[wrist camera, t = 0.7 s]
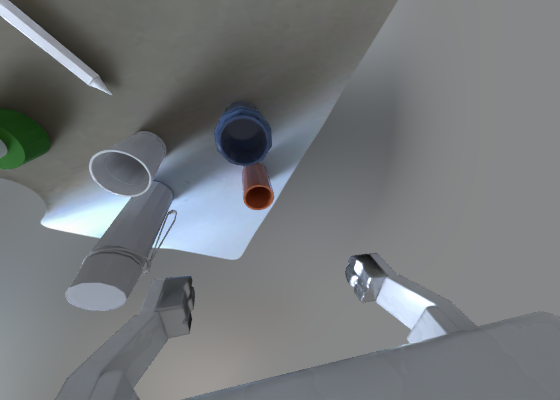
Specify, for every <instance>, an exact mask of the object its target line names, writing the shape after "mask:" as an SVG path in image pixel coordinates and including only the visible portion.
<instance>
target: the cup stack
mask: <svg viewBox="0 0 560 400" xmlns="http://www.w3.org/2000/svg"><path fill="white" fill-rule="evenodd" d="M238 106H243V107H247V108H251V109H254V110H257V109H256V108H255V107H254V106H253V105H251V104H249V103H247V102H235V103H232V104H231V105H229V106H228V107H227V108H226V110H225V111H224V112H226V111H228V110H231V109H233V108H235V107H238ZM257 111H258V110H257ZM218 144H219V148H220V151H221V153H222V154H223V155H224V156H225V158H226V159H227V160H229V161H231V162H232V163H234V164H236V165H242V166H248V165H254V164H256V163H257V162H259V161H261V160H262V159H263V158H264V156H265V155H266V154H267V152H268V149H269V145H270V140H269V133H268V131H267V129H266V128H265V126H264V124H263V123H262V122H261V121H260V120H259V119H258V118H257V117H255V116H252V115H248V114H244V113H243V114H242V113H240V114H237V115H233V116H231V117H230V118H228V119H226V120H225V121H224V123H223V124H222V126H221V128H220V130H219V136H218Z"/></svg>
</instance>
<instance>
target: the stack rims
mask: <svg viewBox="0 0 560 400" xmlns="http://www.w3.org/2000/svg"><path fill="white" fill-rule="evenodd" d="M240 113H242V114H243V113H244V114H248V115H252V116H255V117H257V118H258V119H259V120H260V121H261V122H262V123H263V124H264V126H265V128H266V129H267V131H268V133H269V140H270V145H269V149H268V151H269V150H270V148H271V147H272V139H271V128H270V126H269V124H268V123H267V121H266V120H265V119H264V118H263V116H262V115H261V114H260V113H259V111H257V110H254V109H251V108H247V107H243V106H238V107H235V108H233V109H231V110H228V111H226V112H224V113H223V114H222V116H221V118H220V120H219V122H218V124H217V126H216V128H215V132H214V135H215V140H216V145H217V149H218V152H219V153H221V151H220V148H219V144H218V136H219V130H220V128H221V126H222V124H223V123H224V121H225V120H226V119H228V118H230V117H231V116H233V115H237V114H240ZM267 153H268V152H267ZM221 154H222V153H221ZM222 155H223V154H222ZM223 156H224V155H223ZM265 156H266V155H265ZM265 156H264V157H265ZM224 157H225V156H224ZM263 159H264V158H263ZM263 159H262V160H263ZM262 160H261V161H262ZM228 161H229V160H228ZM229 162H230V163H232V162H231V161H229ZM233 164H234V163H233ZM248 166H249V165H248Z"/></svg>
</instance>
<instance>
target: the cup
mask: <svg viewBox="0 0 560 400" xmlns="http://www.w3.org/2000/svg"><path fill="white" fill-rule="evenodd" d="M166 151H167V150H166V145H165V143H164V142H163V140H162V139H161V138H160V137H159V136H157V135H156V134H154V133H152V132H148V131H139V132H137V133H135V134H134V135H132V136H130V137H128V138H127V139H125V140H123V141H121V142H119V143H117V144H115V145H113V146H111V147H109V148H106V149H104V150H102V151H100V152H98V153H96V154H95V155H94V156H93V157H92V158H91V160H90V163H89V170H90V173H91V176H92V177H93V179H94V180H95V182H96V183H97V184H98V185H99V186H101V187H102V188H103V189H105V190H107V191H108V192H110V193H113V194H116V195H119V196H124V197H135V196H139V195H142V194H144V193H145V192H146V191H148V189H149V188H150V186H151V184H152V182H153V179H154V177H155V175H156V173H157V171H158V169H159V167H160V164H161V162H162V160H163V158H164V157H165V155H166Z"/></svg>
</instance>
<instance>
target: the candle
mask: <svg viewBox="0 0 560 400" xmlns="http://www.w3.org/2000/svg"><path fill="white" fill-rule="evenodd" d="M49 148H50V140H49V137H48V135H47V133H46V132H45V130H44V129H43V128H42V127H41V126H40V125H39V124H38V123H37V122H36V121H34V120H33V119H31V118H30V117H28V116H26V115H25V114H22V113H20V112H18V111H15V110H11V109H5V108H0V169H13V168H17V167H19V166H21V165H23V164H25V163H27V162H29V161H31V160H33V159H35V158H37V157H39V156H41V155H43V154H45V153H46V152H47V151H48V150H49Z"/></svg>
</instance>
